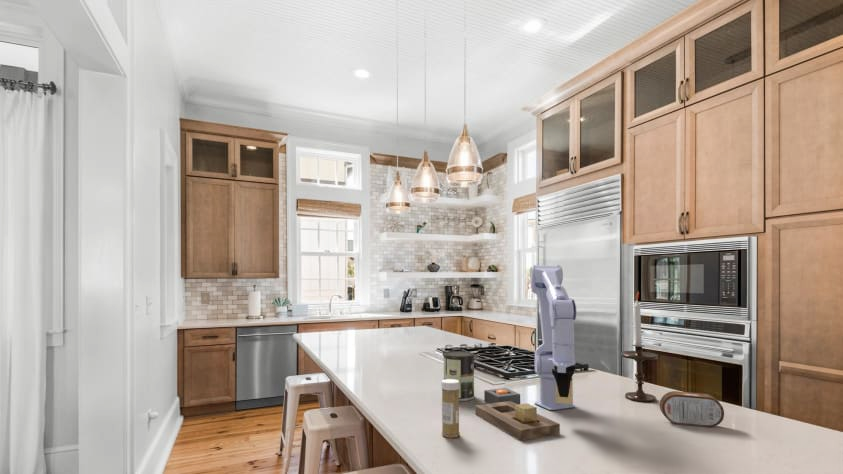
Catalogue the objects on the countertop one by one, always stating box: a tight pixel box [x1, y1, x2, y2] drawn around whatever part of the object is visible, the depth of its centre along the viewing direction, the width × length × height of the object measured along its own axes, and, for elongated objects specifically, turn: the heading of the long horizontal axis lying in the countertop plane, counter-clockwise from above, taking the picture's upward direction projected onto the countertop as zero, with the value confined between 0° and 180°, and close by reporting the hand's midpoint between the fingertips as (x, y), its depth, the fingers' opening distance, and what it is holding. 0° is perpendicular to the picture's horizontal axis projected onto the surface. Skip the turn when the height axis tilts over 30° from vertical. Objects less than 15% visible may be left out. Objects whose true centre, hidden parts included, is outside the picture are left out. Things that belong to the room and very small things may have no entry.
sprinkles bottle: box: [441, 379, 461, 439], centre depth 112 cm, size 5×5×13 cm
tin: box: [659, 390, 725, 428], centre depth 120 cm, size 15×3×8 cm, turn 72°
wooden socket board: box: [474, 401, 561, 442], centre depth 120 cm, size 12×22×2 cm, turn 23°
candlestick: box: [620, 290, 658, 404], centre depth 146 cm, size 11×11×35 cm
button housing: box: [483, 387, 521, 405], centre depth 139 cm, size 8×8×4 cm
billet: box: [515, 402, 538, 424], centre depth 116 cm, size 4×4×6 cm
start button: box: [496, 388, 508, 395], centre depth 139 cm, size 4×4×2 cm
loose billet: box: [556, 377, 574, 404], centre depth 120 cm, size 4×4×6 cm
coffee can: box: [442, 350, 475, 402], centre depth 147 cm, size 10×10×14 cm
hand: (564, 394), depth 120 cm, fingers closed on loose billet, 4 cm apart
